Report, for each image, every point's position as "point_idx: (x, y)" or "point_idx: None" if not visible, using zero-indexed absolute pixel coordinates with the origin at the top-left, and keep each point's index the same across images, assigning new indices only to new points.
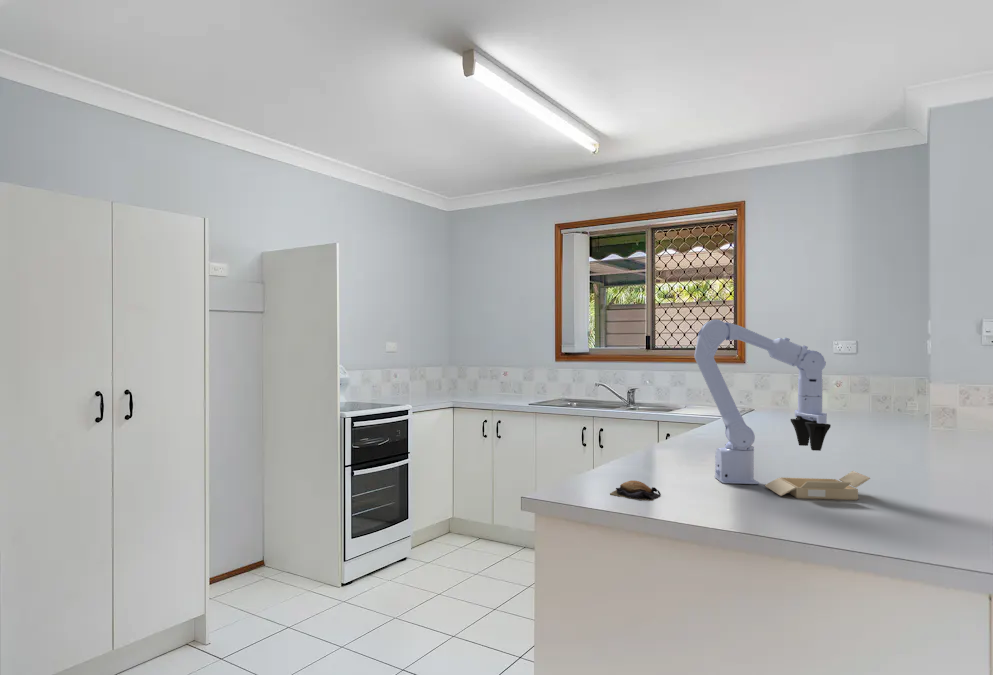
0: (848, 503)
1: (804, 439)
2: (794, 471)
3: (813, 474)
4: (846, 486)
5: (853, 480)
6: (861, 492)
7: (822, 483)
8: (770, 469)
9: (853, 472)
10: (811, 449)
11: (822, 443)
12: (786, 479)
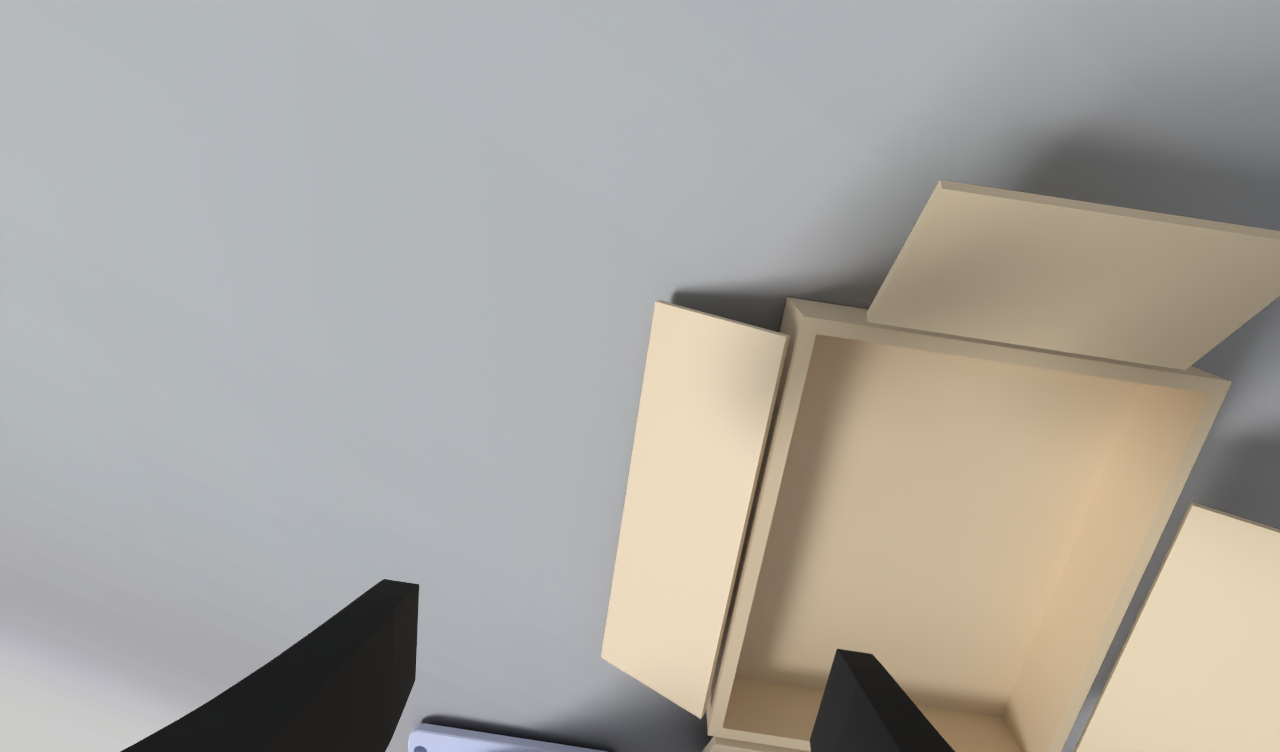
0: (1214, 483)
1: (373, 703)
2: (37, 220)
3: (144, 102)
4: (1275, 532)
5: (1094, 313)
6: (915, 121)
7: (1247, 744)
8: (5, 397)
9: (984, 212)
10: (814, 750)
11: (942, 740)
12: (729, 689)
